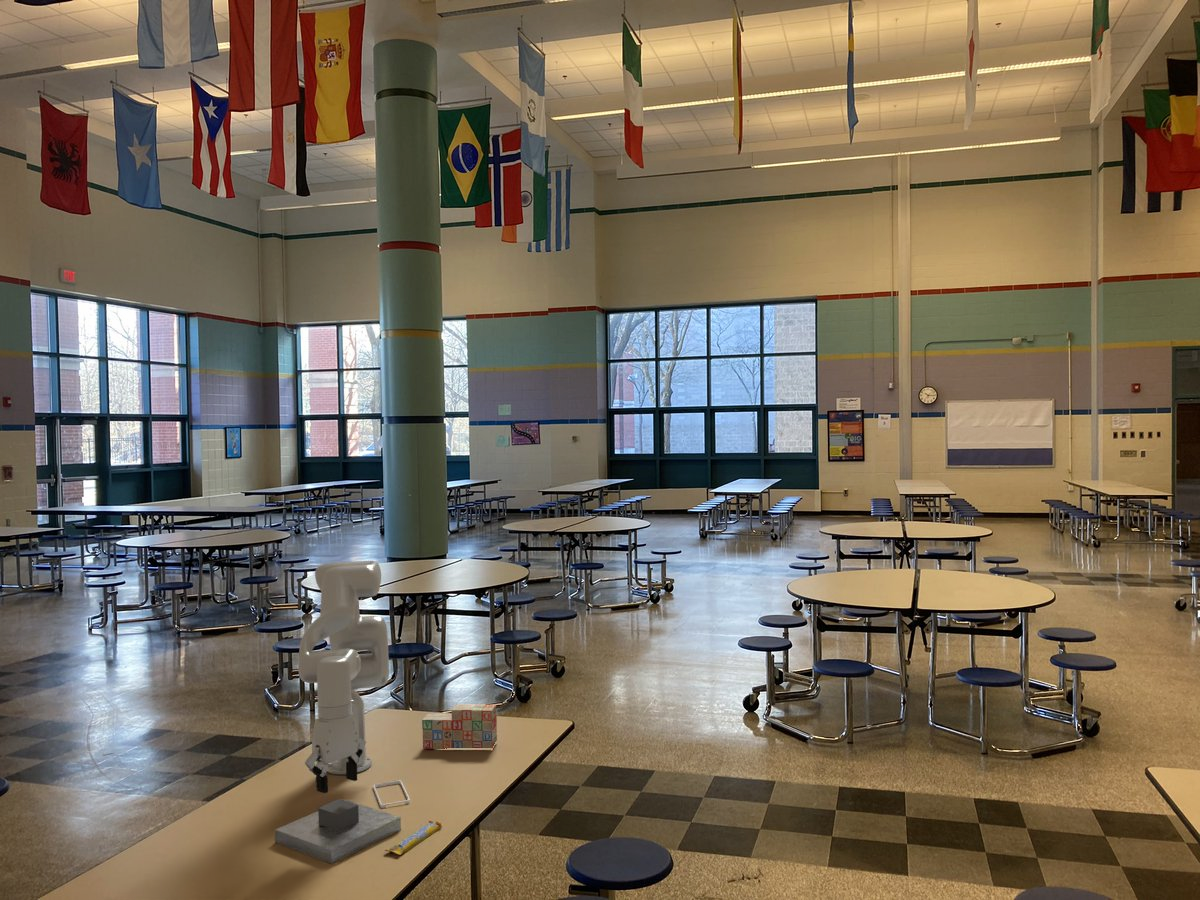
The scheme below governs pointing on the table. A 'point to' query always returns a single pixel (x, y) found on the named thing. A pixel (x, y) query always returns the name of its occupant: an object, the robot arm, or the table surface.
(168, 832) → the table surface
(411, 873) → the table surface
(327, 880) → the table surface
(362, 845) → the socket plate
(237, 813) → the table surface
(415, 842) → the candy bar
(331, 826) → the plug
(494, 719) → the stack of blocks
